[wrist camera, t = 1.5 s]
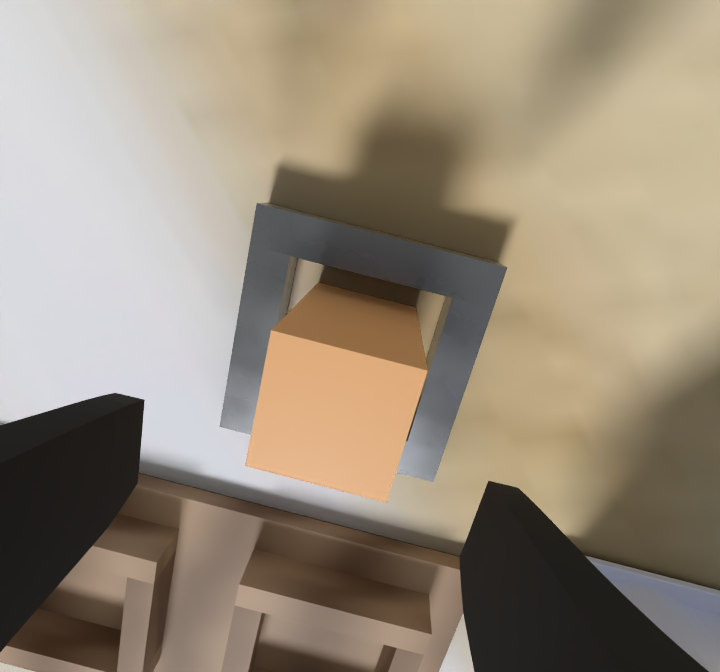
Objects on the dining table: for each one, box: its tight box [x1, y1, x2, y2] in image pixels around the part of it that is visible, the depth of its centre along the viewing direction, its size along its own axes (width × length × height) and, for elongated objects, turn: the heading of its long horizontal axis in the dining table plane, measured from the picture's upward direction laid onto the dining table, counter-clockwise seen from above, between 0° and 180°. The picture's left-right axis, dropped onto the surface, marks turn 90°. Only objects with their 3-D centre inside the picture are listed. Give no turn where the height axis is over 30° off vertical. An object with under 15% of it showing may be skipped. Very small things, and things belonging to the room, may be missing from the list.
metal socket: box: [220, 203, 507, 482], centre depth 17 cm, size 9×9×2 cm
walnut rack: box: [0, 473, 463, 672], centre depth 21 cm, size 24×12×3 cm, turn 76°
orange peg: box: [245, 283, 428, 503], centre depth 15 cm, size 4×4×7 cm
